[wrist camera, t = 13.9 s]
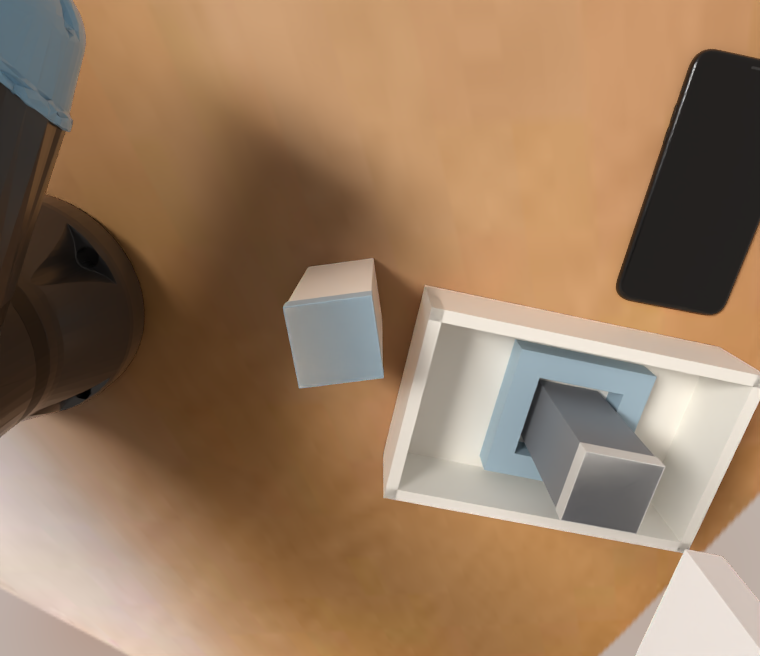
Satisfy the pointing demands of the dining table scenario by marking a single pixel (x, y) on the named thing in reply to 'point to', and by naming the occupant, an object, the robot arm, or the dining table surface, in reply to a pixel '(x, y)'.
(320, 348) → the cream plug
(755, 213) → the smartphone
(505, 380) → the tray box
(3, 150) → the robot arm
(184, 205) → the dining table surface
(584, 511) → the grey plug
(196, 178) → the dining table surface
